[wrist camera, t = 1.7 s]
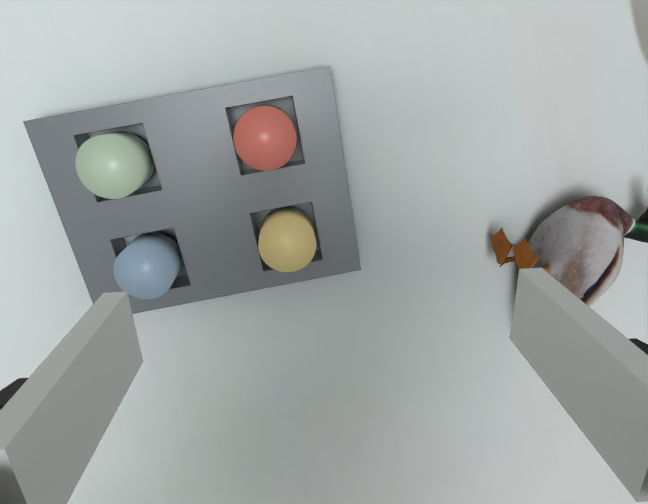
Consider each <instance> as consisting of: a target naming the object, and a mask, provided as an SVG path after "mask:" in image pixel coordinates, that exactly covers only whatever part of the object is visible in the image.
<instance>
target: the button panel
mask: <svg viewBox="0 0 648 504" xmlns="http://www.w3.org/2000/svg"><path fill="white" fill-rule="evenodd" d="M287 96H292V99H293V104H294V109H295V115H296V120H297V126H298V131H299V137H300V142H301V148H302V153H303V158H304V159H303V160H298V161H292V162H287V163H286V164H284V165H283V166H281V167H280V168H277V169H274V170H269V171H263V170H258V169H255V168H254V169H249V170H244V171H243V167H242V163H241V158H240V157H239V155H238V153H237V151H236V149H235V146H234V140H233V135H234V128H233V124H232V120H231V115H230V111H229V107H232V106H238V105H243V104H249V103H254V102H260V101H265V100H271V99H276V98H282V97H287ZM23 122H24V125H25V127H26V130H27V133H28V135H29V138H30V140H31V143H32V146H33V148H34V151H35V153H36V156H37V159H38V161H39V164H40V166H41V169H42V172H43V174H44V177H45V179H46V182H47V185H48V187H49V190H50V192H51V195H52V198H53V200H54V203H55V205H56V208H57V211H58V213H59V216H60V218H61V221H62V224H63V226H64V229H65V231H66V234H67V237H68V239H69V242H70V244H71V247H72V250H73V252H74V255H75V257H76V260H77V263H78V265H79V268H80V270H81V273H82V276H83V278H84V281H85V283H86V286H87V289H88V291H89V294H90V296H91V299H92V302H93V304H94V303H95V302H96V301H97V300H98V298H99V297H100V296H101V295H102V294H103V293H109V292H124V291H123V290H122V289H121V288H120V287H119V285H118V284H117V282H116V280H115V277H114V272H113V267H114V263H115V260H116V258H117V257H118V255H119V254H120V253H121V252H122V251H123V250H124V249H125V248H126V245H125V242H124V239H123V237H126V236H132V235H137V234H142V233H148V232H153V231H158V230H164V229H169V228H174V230H175V234H176V237H177V240H178V244H179V247H180V250H181V254H182V257H183V261H184V264H185V267H186V271H187V274H188V276H183V277H177V278H175V280H174V282H173V283H172V285H171V287H170V288H169V290H168V291H167V292H166V293H164V294H163V295H161V296H160V297H157V298H154V299H139V298H135V297H133V296H131V295H129V294H128V298H129V302H130V307H131V311H132V314H134V313H139V312H144V311H150V310H155V309H160V308H165V307H170V306H176V305H181V304H186V303H191V302H196V301H201V300H207V299H212V298H217V297H222V296H227V295H232V294H238V293H243V292H248V291H253V290H258V289H263V288H269V287H274V286H279V285H284V284H289V283H295V282H300V281H305V280H310V279H315V278H320V277H326V276H331V275H336V274H341V273H346V272H351V271H357V270H361V266H360V260H359V253H358V247H357V240H356V234H355V227H354V221H353V214H352V208H351V201H350V195H349V188H348V182H347V175H346V168H345V162H344V155H343V149H342V142H341V136H340V129H339V123H338V116H337V110H336V103H335V97H334V90H333V83H332V77H331V70H330V66H329V67H323V68H318V69H312V70H306V71H301V72H295V73H290V74H284V75H279V76H273V77H267V78H262V79H256V80H251V81H245V82H240V83H234V84H228V85H223V86H217V87H212V88H206V89H201V90H195V91H189V92H184V93H178V94H173V95H167V96H162V97H156V98H150V99H145V100H139V101H134V102H128V103H123V104H117V105H112V106H106V107H100V108H95V109H89V110H84V111H78V112H73V113H67V114H61V115H56V116H50V117H45V118H39V119H34V120H28V121H23ZM138 123H143V126H144V129H145V133H146V136H147V139H148V143H149V146H150V150H151V153H152V156H153V160H154V163H155V166H156V170H157V173H158V176H159V180H160V183H161V186H157V187H152V188H147V189H141V190H136V191H134V192H132V193H131V194H129V195H128V196H125V197H123V198H119V199H107V198H103V197H100V196H98V195H96V194H94V193H92V192H91V191H90V190H88V189H87V188H86V187H85V186H84V184H83V183H82V182H81V180H80V178H79V176H78V174H77V171H76V166H75V160H76V155H77V152H78V150H79V148H80V147H81V145H82V144H83V143H84V142H85V141H87V140H88V139H89V136H88V133H89V132H94V131H100V130H105V129H111V128H116V127H122V126H127V125H133V124H138ZM307 202H312V207H313V213H314V218H315V224H316V229H317V235H318V240H319V246H320V250H318V251H315V254H314V256H313V258H312V260H311V261H310V262H309V263H308V264H307V265H306V266H305V267H304V268H302V269H300V270H297V271H294V272H280V271H277V270H274V269H273V268H271V267H269V266H268V265H267V264H266V263H265V262H264V261H263V259H262V257H261V255H260V253H259V248H258V242H259V236H258V232H257V228H256V223H255V219H254V215H253V213H254V212H259V211H265V210H270V209H275V208H281V207H286V206H291V205H296V204H302V203H307Z"/></svg>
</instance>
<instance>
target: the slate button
mask: <svg viewBox="0 0 648 504" xmlns="http://www.w3.org/2000/svg"><path fill="white" fill-rule="evenodd" d="M182 263H183V257H182V254H181V250H180V248H179V246H178V244H177V243H176V242H175V241H174V240H173V239H171V238H170V237H168V236H166V235H164V234H161V233H156V232H150V233H145V234H142V235H140V236H138V237H137V238H135V239H134V240H133V241H132V242H131V243H130V244H129V245H128V246H127V247H126V248H125V249H124V250H123V251H122V252H121V253H120V254H119V255H118V257H117V258H116V260H115V263H114V267H113V272H114V277H115V280H116V282H117V284H118V285H119V287H120V288H121V289H122V290H123V291H124V292H126V291H127V294H129V295H131V296H133V297H135V298H139V299H154V298H157V297H160V296H161V295H163V294H164V293H166V292H167V291H168V290H169V288H170V287H171V285H172V283H173V282H174V280H175V278H176V276H177V275H178V273H179V271H180V269H181V267H182Z"/></svg>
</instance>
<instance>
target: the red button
mask: <svg viewBox="0 0 648 504" xmlns="http://www.w3.org/2000/svg"><path fill="white" fill-rule="evenodd" d="M233 140H234V146H235V149H236V151H237V153H238V155H239V157H240V158H241V159H242V160H243V161H244V162H245V163H246V164H247V165H249V166H251V167H252V168H255V169H258V170H263V171H269V170H274V169H277V168H280V167H281V166H283V165H284V164H286V163H287V162H288V161H289V160H290V158H291V157H292V155H293V153H294V151H295V148H296V142H297V137H296V131H295V128H294V125H293V123H292V121H291V119H290V118H289V116H288V115H287V114H286V113H285V112H283V111H282V110H281V109H279V108H277V107H274V106H269V105H261V106H257V107H254V108H252V109H250V110H248V111H247V112H245V113H244V114H243V115H242V116H241V117H240V119H239V120H238V122H237V123H236V126H235V129H234V135H233Z"/></svg>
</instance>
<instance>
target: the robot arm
mask: <svg viewBox="0 0 648 504" xmlns="http://www.w3.org/2000/svg"><path fill="white" fill-rule="evenodd" d="M510 339H511V341H512V342H513V343H514V344H515V346H516V347H517V348H518V350H519V351H520V352H521V353H522V355H523V356H524V357H525V359H526V360H527V361H528V362H529V364H530V365H531V366H532V368H533V369H534V370H535V371H536V373H537V374H538V375H539V377H540V378H541V379H542V380H543V382H544V383H545V384H546V386H547V387H548V388H549V389H550V391H551V392H552V393H553V395H554V396H555V397H556V398H557V400H558V401H559V402H560V404H561V405H562V406H563V408H564V409H565V410H566V411H567V413H568V414H569V415H570V417H571V418H572V419H573V420H574V422H575V423H576V424H577V426H578V427H579V428H580V429H581V431H582V432H583V433H584V435H585V436H586V437H587V438H588V440H589V441H590V442H591V444H592V445H593V446H594V447H595V449H596V450H597V451H598V453H599V454H600V455H601V456H602V458H603V459H604V460H605V462H606V463H607V464H608V465H609V467H610V468H611V469H612V471H613V472H614V473H615V474H616V476H617V477H618V478H619V480H620V481H621V482H622V483H623V485H624V486H625V487H626V489H627V490H628V491H629V492H630V494H631V495H632V496H633V498H634V499H635V500H636V502H642V501H648V344H646V343H644V342H642V341H640V340H638V339H627V338H626V337H625V336H624V335H623V334H621V333H620V332H619V331H618V330H616V329H615V328H614V327H613V326H612V325H610V324H609V323H608V322H607V321H606V320H604V319H603V318H602V317H601V316H600V315H598V314H597V313H596V312H595V311H593V310H592V309H591V308H590V307H589V306H587V305H586V304H585V303H584V302H583V301H581V300H580V299H579V298H578V297H577V296H575V295H574V294H573V293H572V292H570V291H569V290H568V289H567V288H566V287H564V286H563V285H562V284H561V283H560V282H558V281H557V280H556V279H555V278H553V277H552V276H551V275H550V274H549V273H547V272H546V271H545V270H544V269H543V268H527V269H519V275H518V282H517V289H516V297H515V304H514V311H513V318H512V326H511V333H510ZM142 362H143V359H142V354H141V350H140V346H139V341H138V337H137V333H136V328H135V324H134V320H133V315H132V311H131V307H130V302H129V298H128V294H127V291H126V292H109V293H103V294H102V295H101V296H100V297H99V298H98V300H97V301H96V302H95V303H94V304H93V305H92V306H91V308H90V309H89V310H88V311H87V312H86V313H85V314H84V316H83V317H82V318H81V319H80V320H79V321H78V322H77V324H76V325H75V326H74V327H73V328H72V329H71V330H70V332H69V333H68V334H67V335H66V336H65V337H64V338H63V340H62V341H61V342H60V343H59V344H58V345H57V346H56V347H55V349H54V350H53V351H52V352H51V353H50V354H49V355H48V357H47V358H46V359H45V360H44V361H43V362H42V363H41V365H40V366H39V367H38V368H37V369H36V370H35V371H34V373H33V374H32V375H31V376H30V377H29V378H19V379H17V380H16V381H14V382H13V383H11V384H10V385H8V386H7V387H5V388H4V389H2V390H1V391H0V504H67V502H68V500H69V498H70V496H71V494H72V493H73V491H74V489H75V487H76V485H77V483H78V481H79V480H80V478H81V476H82V474H83V472H84V470H85V468H86V467H87V465H88V463H89V461H90V459H91V457H92V455H93V453H94V452H95V450H96V448H97V446H98V444H99V442H100V440H101V439H102V437H103V435H104V433H105V431H106V429H107V427H108V426H109V424H110V422H111V420H112V418H113V416H114V414H115V412H116V411H117V409H118V407H119V405H120V403H121V401H122V399H123V398H124V396H125V394H126V392H127V390H128V388H129V386H130V385H131V383H132V381H133V379H134V377H135V375H136V373H137V372H138V370H139V368H140V366H141V364H142Z"/></svg>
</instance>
